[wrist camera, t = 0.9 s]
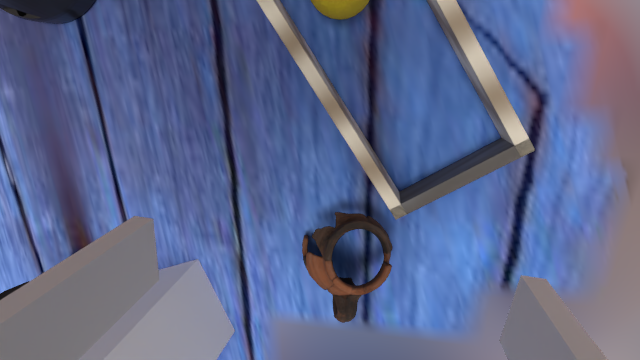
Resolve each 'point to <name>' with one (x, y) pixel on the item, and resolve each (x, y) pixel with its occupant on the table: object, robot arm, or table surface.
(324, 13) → the lemon
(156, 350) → the milk
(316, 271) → the brown open ring
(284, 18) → the channel
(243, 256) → the table surface
